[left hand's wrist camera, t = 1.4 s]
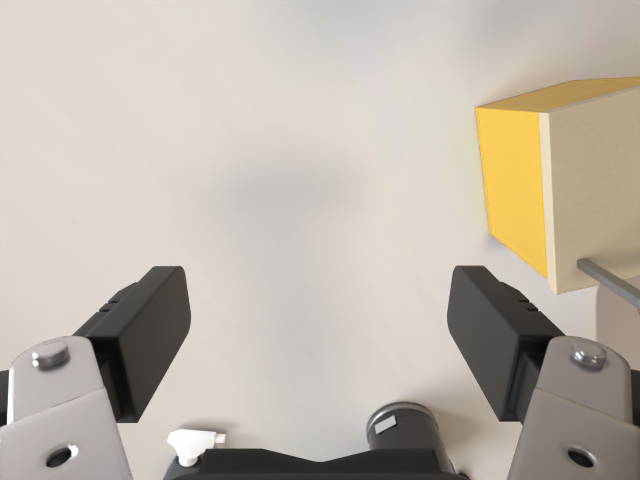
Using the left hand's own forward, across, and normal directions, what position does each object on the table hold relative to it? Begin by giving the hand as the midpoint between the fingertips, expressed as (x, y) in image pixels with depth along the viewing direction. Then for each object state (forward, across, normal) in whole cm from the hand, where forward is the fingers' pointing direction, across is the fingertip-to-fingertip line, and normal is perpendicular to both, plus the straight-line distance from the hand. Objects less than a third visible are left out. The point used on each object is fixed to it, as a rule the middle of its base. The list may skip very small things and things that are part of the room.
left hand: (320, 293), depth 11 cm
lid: (+17, +21, -1) cm, 27 cm away
